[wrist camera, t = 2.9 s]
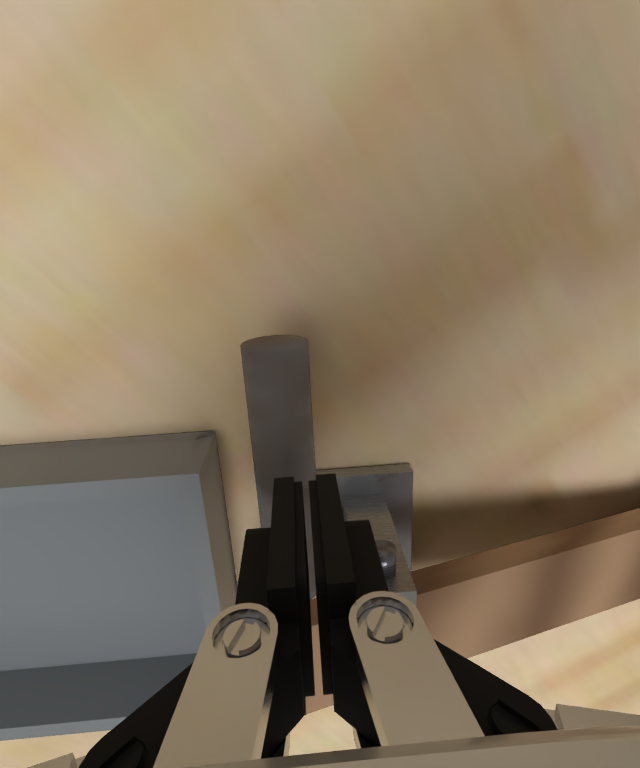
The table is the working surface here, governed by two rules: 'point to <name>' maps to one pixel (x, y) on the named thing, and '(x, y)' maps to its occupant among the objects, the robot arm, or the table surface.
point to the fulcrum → (383, 516)
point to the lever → (456, 577)
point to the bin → (106, 575)
